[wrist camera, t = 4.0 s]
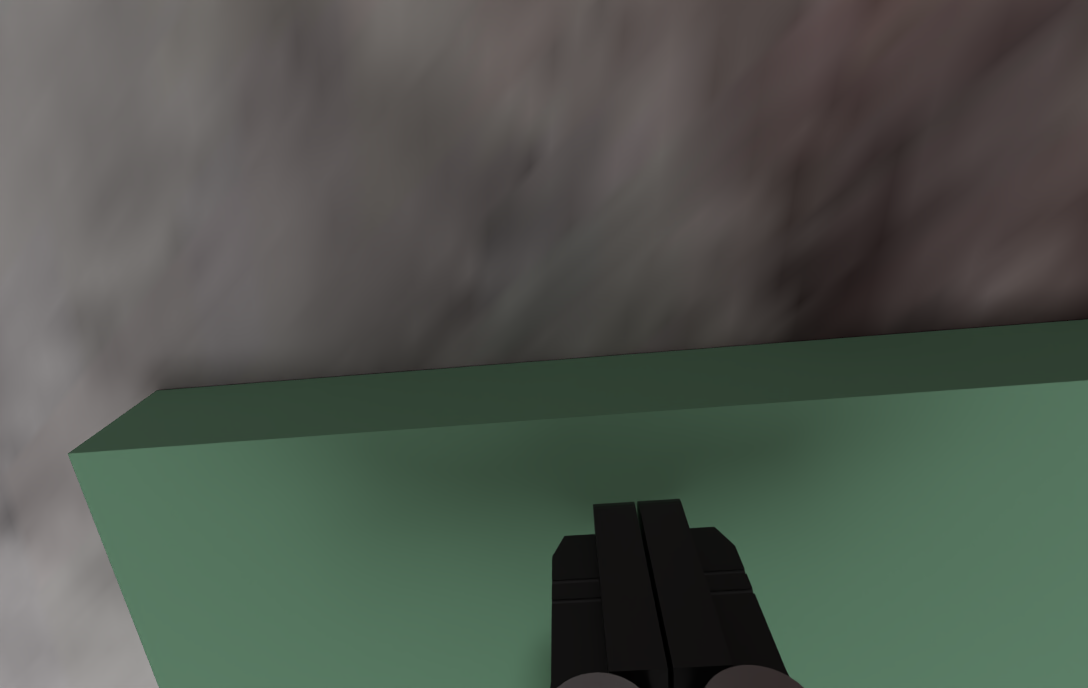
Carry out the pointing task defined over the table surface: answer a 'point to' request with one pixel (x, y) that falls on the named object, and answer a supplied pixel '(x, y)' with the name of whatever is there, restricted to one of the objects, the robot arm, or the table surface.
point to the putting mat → (611, 477)
